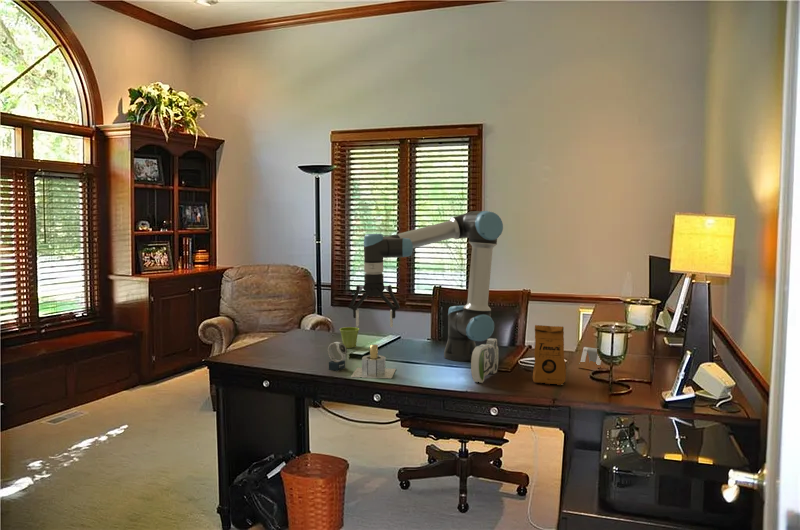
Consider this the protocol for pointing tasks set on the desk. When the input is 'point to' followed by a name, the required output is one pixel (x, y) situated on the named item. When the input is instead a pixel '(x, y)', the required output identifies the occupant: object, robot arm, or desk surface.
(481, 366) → the cutout
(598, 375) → the desk surface
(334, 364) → the watch
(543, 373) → the coffee package
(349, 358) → the desk surface
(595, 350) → the portable electronic device stand
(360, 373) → the square peg stand
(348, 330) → the plant pot
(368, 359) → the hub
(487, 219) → the robot arm
